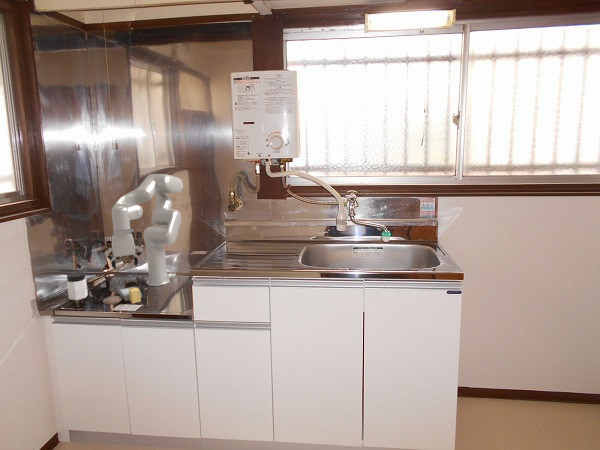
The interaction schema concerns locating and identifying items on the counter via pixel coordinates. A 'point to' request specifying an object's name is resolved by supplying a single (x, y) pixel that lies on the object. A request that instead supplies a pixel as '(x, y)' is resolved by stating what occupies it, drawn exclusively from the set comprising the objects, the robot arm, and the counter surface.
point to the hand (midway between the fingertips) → (125, 266)
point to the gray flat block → (126, 293)
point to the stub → (134, 295)
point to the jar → (77, 286)
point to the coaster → (112, 300)
